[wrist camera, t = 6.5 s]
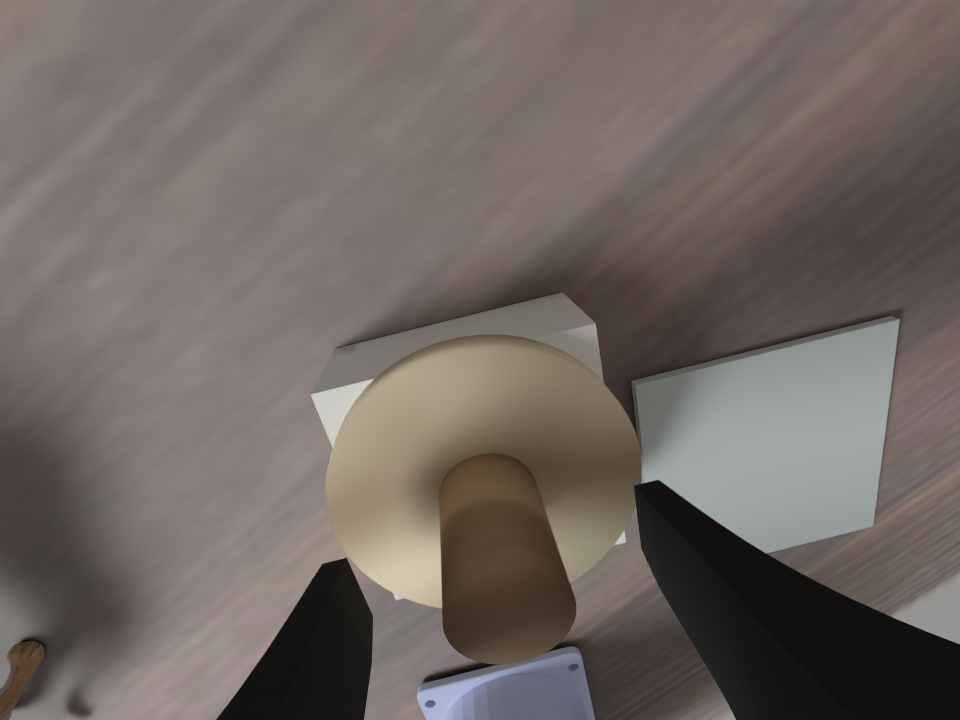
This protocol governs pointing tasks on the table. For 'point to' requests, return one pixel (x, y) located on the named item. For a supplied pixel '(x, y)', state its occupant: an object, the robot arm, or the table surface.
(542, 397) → the lid
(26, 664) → the lion figurine
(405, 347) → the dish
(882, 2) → the table surface
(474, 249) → the table surface
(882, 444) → the mat
